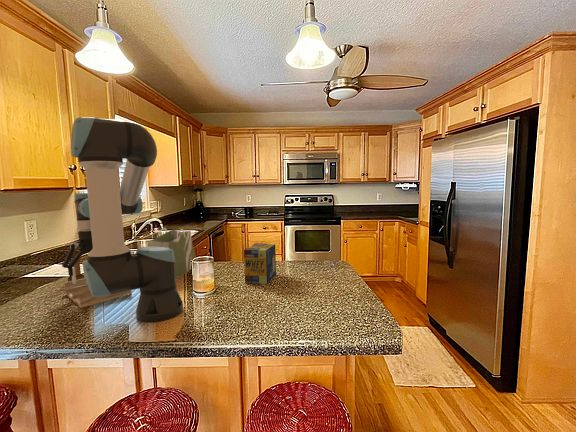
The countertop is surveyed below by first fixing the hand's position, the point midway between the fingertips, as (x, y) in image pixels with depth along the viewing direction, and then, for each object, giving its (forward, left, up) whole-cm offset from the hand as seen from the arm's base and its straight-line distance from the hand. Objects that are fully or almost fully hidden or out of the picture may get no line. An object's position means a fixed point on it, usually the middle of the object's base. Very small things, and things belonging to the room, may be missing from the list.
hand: (93, 279), depth 130 cm
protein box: (-44, -56, -6) cm, 72 cm away
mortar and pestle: (+24, +1, -6) cm, 24 cm away
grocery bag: (0, -36, -6) cm, 36 cm away
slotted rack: (-5, 0, -6) cm, 8 cm away
